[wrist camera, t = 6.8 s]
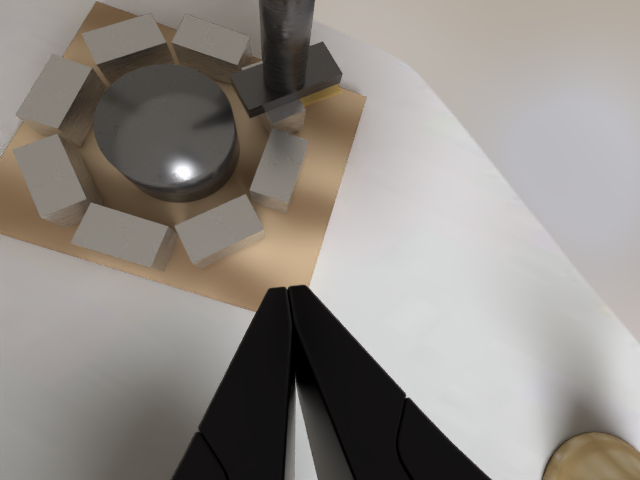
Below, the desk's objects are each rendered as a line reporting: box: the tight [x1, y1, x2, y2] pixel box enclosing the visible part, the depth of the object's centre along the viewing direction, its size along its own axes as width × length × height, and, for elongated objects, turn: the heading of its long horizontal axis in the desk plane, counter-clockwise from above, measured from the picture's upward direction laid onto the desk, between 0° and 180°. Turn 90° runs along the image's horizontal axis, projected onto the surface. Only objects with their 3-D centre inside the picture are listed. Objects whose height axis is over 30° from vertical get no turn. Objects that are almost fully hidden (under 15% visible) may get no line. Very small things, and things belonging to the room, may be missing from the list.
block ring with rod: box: [12, 0, 342, 272], centre depth 15 cm, size 15×18×11 cm
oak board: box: [0, 2, 366, 312], centre depth 20 cm, size 16×19×1 cm
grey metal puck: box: [94, 64, 240, 203], centre depth 19 cm, size 7×7×3 cm
